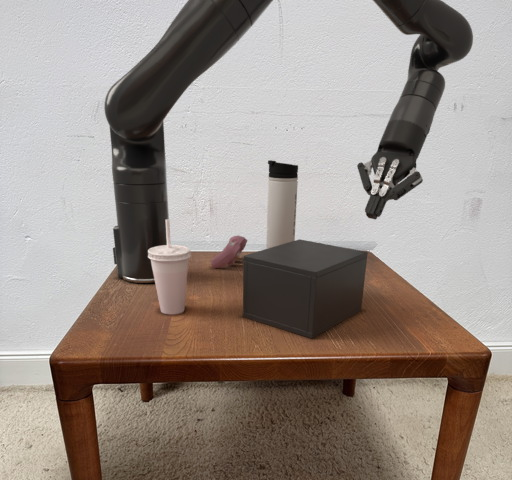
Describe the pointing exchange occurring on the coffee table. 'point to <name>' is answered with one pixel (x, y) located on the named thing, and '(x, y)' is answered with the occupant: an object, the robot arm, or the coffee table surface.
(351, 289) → the dark grey lidded box
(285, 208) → the travel mug
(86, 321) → the coffee table surface
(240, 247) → the pink rounded figure
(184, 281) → the smoothie
